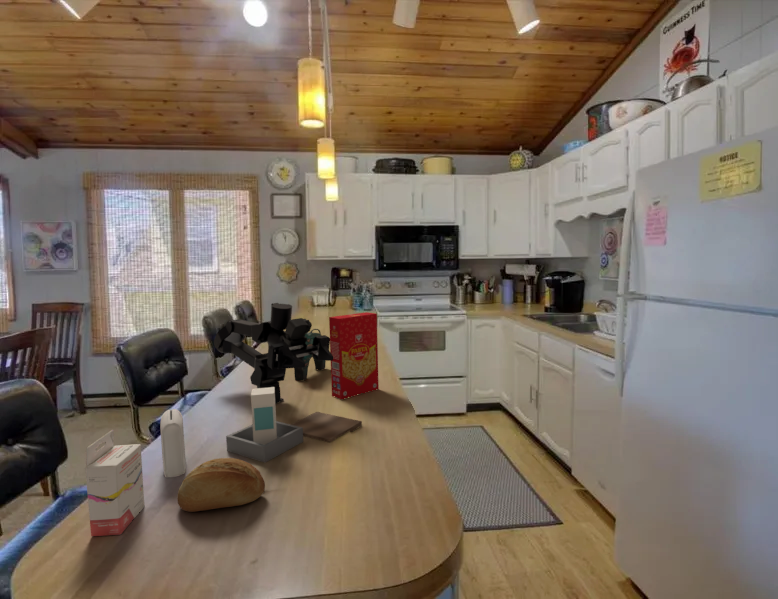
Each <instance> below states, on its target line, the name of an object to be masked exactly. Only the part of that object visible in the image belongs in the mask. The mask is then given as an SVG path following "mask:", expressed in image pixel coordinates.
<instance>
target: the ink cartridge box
mask: <svg viewBox="0 0 778 599" xmlns="http://www.w3.org/2000/svg"><path fill="white" fill-rule="evenodd" d="M114 436H115V430H114V429H111V430H110V431H108V432H107V433H106V434H104V435H103V436H101V437H100V438H98V439H97V440H95V441H94V442H92V444H90V445H88V446H87V447H86V450H85V468H84V469H85V480H86V481H85V482H86V491H87V492H86V493H87V504H88V513H89V528H90V536H91V537H101V536H117V535H122V534H123V533H124V532H125V530H126V529H127V528H128V527H129V525H130V524H131V523H132V522H133V521H134V520H135V518H136V517H137V516H138V515H139V514H140V513H139V512H142V510H143V509H144V508H145V494H144V493H145V492H144V490H145V489H144V478H143V477H144V476H143V461H142V444H140V443H137V444H136V443H135V444H134V443H133V444H132V443H131V444H121V445H120V444H119V445H118V444H117V445H114V443H115V442H114V440H115V439H114V438H115V437H114ZM101 444H104V445H103V446H102V447H100V445H101ZM98 447H100V448H99V449H98V450H97V448H98ZM133 519H134V520H133ZM132 520H133V521H132Z"/></svg>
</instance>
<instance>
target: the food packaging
mask: <svg viewBox="0 0 778 599" xmlns="http://www.w3.org/2000/svg"><path fill="white" fill-rule="evenodd" d="M328 317H329V318H328V320H329V321H328V322H329V323H328V324H329V338H330V344H329V351H330V353H331V354H332V356H333V361H330V378H331V380H330V381H331V396H332V397H333V396H335V397H334V398H336V397H337V399H338V398H340V399H339V400H341V399H343V400H345V399H344V398H346V399H349V398H348V397H350V398H352V397H351V396H353V397H355V396H354V395H357V394H361V393H364V394H366V393H365V392H368V391H371V392H373V391H372V390H375V391H377V390H376V389H378V390H379V389H380V387H379V385H380V384H379V351H378V350H379V348H378V346H379V345H378V313H373V312H367V311H366V312H358V313H350V314H344V315H343V314H342V315H336V316H328ZM368 393H369V392H368ZM361 395H362V394H361ZM357 396H358V395H357Z"/></svg>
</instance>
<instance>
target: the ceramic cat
mask: <svg viewBox="0 0 778 599" xmlns="http://www.w3.org/2000/svg"><path fill="white" fill-rule="evenodd" d="M313 331H318V332H313ZM317 336H323V335H322V334H321V330H320V329H318V328H313V329H312V330H310V331H308V332H306V335H305V337H307V342H305V343H306V345H307V346H312V345H313V339H314V338H315V337H317ZM311 359H313V362H314V363H313V364H314V368H315V369H318V370H317V371H323V370H322V369H324V370H325V369H326V362H327V361H326V360H318V359H316V358H314V357H313V355H307V356H304V358H302V359H300V360H302V361H303V362H304V363H305V367H304V368H293V369H294V373H293V374H294V380H295V381H299V380H304V381H305V379H306V380H307V379H308V373H309V372H308V370H309V366H310V361H311ZM315 369H314V370H315Z"/></svg>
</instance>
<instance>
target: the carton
mask: <svg viewBox="0 0 778 599" xmlns="http://www.w3.org/2000/svg"><path fill="white" fill-rule="evenodd" d="M250 401H251V403H250V404H251V419H252V422H251V423H252V425H253V442H256V443H260V444H263V445H265V444H267V443H269V442H271V441H273V440H275V439H277V427H276V421H277V412H276V410H277V409H276V404H275V387H268V388H257V387H256V388H251V393H250Z"/></svg>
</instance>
